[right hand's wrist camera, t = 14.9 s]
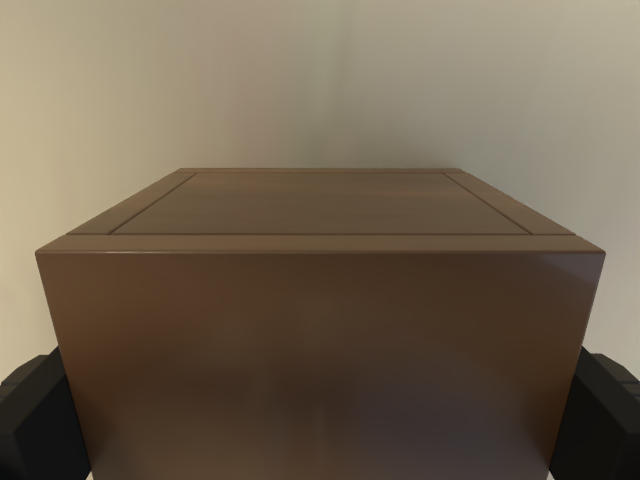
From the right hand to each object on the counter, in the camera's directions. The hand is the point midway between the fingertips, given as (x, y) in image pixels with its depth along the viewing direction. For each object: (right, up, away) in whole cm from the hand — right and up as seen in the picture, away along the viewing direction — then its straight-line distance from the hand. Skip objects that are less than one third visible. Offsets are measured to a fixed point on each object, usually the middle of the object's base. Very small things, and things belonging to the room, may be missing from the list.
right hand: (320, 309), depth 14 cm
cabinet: (0, -4, +5) cm, 6 cm away
